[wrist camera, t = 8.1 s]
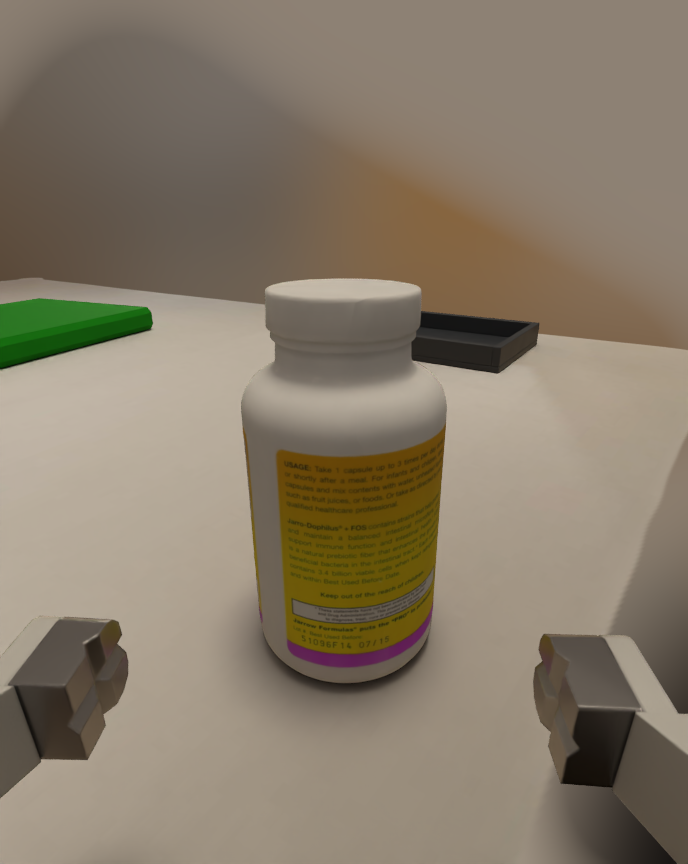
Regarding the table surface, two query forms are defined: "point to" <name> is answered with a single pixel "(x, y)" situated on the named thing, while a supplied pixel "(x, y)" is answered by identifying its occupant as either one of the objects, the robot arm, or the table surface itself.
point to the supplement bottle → (344, 478)
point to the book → (63, 326)
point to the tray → (472, 341)
